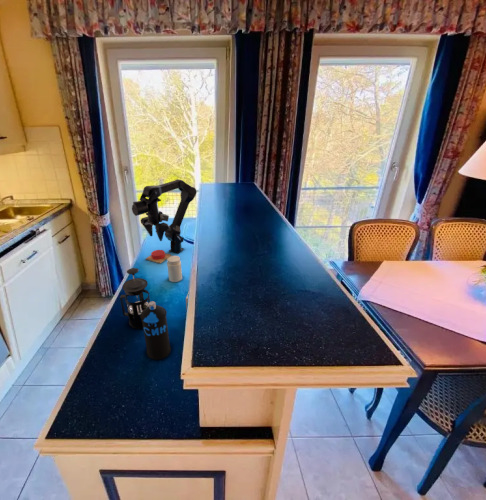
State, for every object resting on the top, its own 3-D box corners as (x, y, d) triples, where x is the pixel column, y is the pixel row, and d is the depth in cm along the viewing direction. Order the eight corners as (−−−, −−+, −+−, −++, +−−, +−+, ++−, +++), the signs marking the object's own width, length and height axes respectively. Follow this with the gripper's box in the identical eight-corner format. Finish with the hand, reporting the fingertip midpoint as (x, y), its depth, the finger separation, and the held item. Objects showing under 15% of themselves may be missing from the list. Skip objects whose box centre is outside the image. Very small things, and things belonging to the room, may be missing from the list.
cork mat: (156, 252, 163) (156, 251, 163) (171, 255, 158) (170, 254, 158) (145, 259, 155) (145, 258, 155) (160, 263, 151) (160, 262, 150)
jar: (173, 273, 141) (171, 254, 136) (184, 276, 138) (183, 257, 133) (166, 280, 135) (163, 260, 131) (177, 283, 132) (175, 263, 128)
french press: (157, 313, 113) (150, 263, 103) (152, 329, 105) (144, 277, 95) (128, 313, 114) (119, 263, 104) (121, 329, 105) (110, 277, 95)
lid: (152, 260, 152) (151, 256, 151) (151, 254, 159) (150, 250, 158) (165, 258, 154) (165, 254, 153) (164, 252, 160) (164, 249, 159)
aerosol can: (147, 342, 99) (140, 296, 90) (171, 340, 99) (165, 294, 90) (145, 361, 91) (136, 312, 82) (170, 358, 92) (164, 310, 83)
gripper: (176, 211, 143) (178, 238, 150) (155, 203, 156) (158, 229, 163) (158, 216, 136) (161, 245, 143) (138, 208, 149) (142, 235, 156)
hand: (156, 238), depth 151 cm, fingers open, 9 cm apart
